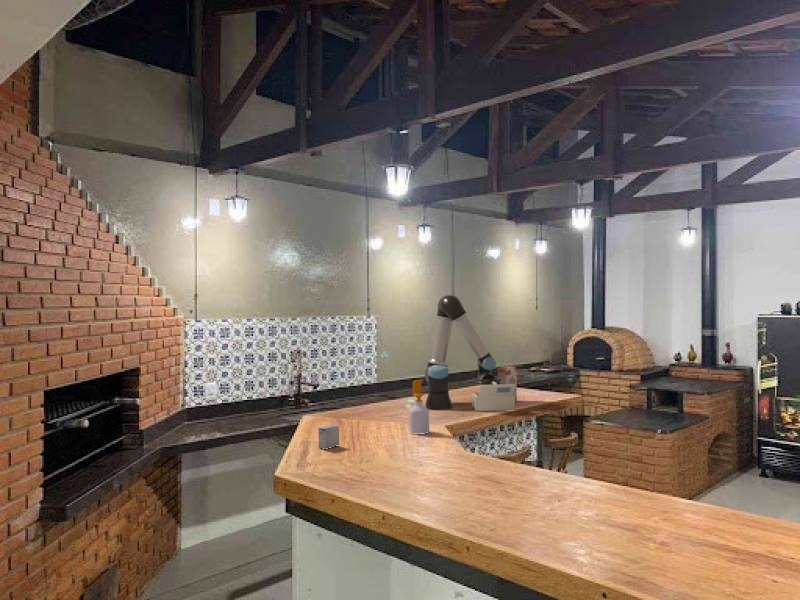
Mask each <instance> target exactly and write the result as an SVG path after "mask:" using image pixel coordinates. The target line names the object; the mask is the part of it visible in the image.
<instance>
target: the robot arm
mask: <svg viewBox="0 0 800 600" xmlns="http://www.w3.org/2000/svg"><path fill="white" fill-rule="evenodd" d="M436 317H437V319H438V322H437V325H436V333H435V338H434V344H433V348H432V353H431V359H429V360H428V361H427V366H426V367H427V368H426V370H425V372H424V379H425V381H426V382H427V391H428V392H427V397H426V401H425V404H424V407H426V408H427V409H428V410H431V409H432V410H433V411H442V410H443V411H445V410H450V409H452V408H453V402H452V399H451V396H450V391H449V374H450V373H449V368H448V364H447V358H448V357H447V356H448V350H449V346H450V340H451V334H452V329H453V324H455V325H456V327H457V328H458V330H459V331H460V333H461V334H462V336H463V338H464V340H465V341H466V342H467V344H468V346H469V348H470V349H471V351H472V352H473V354H474V355H475V357H476V359H477V366H478V367H477V368H478V369H477V371H478V374H477V380H478V382H479V383H478V384H479V385H480V386H481V385H500V384H501V379H499V380H498V378H497V379H496V378H495V376H494V375H493V374H492V370H495V368H496V367H497V362H496V359H495V358H494V357H493V356H492V355H491V352H490V351H489V349H488V348H487V347H486V345H485V343H484V342H483V340H482V339H481V337H480V335H479V334H478V333H477V330H476V329H475V327H474V326H473V324H472V323H471V321H470V319H469V318H468V317H467V311H466V310H465V308H464V306H463V305H462V302H461V300H460V299H459V297H457V296H455V295H452V294H448V295H443V296H442V297H441V298H440V299H439V300H438V302H437V313H436ZM432 410H431V411H432Z"/></svg>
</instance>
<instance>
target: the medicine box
mask: <svg viewBox="0 0 800 600" xmlns="http://www.w3.org/2000/svg"><path fill="white" fill-rule="evenodd" d="M317 429H318V430H317V431H318V449H319V448H324V449H326V448H329V447H333V446H336V445H339V446H340V426H339V425H334V424H329V425H325V426H322V427H319V428H317Z"/></svg>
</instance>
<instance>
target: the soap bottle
mask: <svg viewBox="0 0 800 600" xmlns="http://www.w3.org/2000/svg"><path fill="white" fill-rule="evenodd" d="M423 381H424V379H415V380H413V381H412V394H413V395H414V396H415V398H416V400H415V401H414V404H415V405H413V406H412V407H411V408H410V409H409V411H408V412H409V413H408V415H409V416H408V417H409V420H408V422H409V423H408V425H409V433H410V432H412V433H426V432H429V433H430V411H429V410H430V409H427V408H426V407H425V405H423V400H422V399H421V398H422V397H423V396H425V394H424V393H423V392H422V382H423Z"/></svg>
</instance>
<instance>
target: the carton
mask: <svg viewBox="0 0 800 600" xmlns="http://www.w3.org/2000/svg"><path fill="white" fill-rule="evenodd" d="M479 392H480V391H479ZM479 392H476V391H475V392H472V393H471V399H472V401H471V404H472V405H471V406H473V407H472V408H473V409H474V411H475V412H477V411H487V412H508V411H507V410H514V411H516V401H515V396H514V395H513V396H480V397H479Z"/></svg>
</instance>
